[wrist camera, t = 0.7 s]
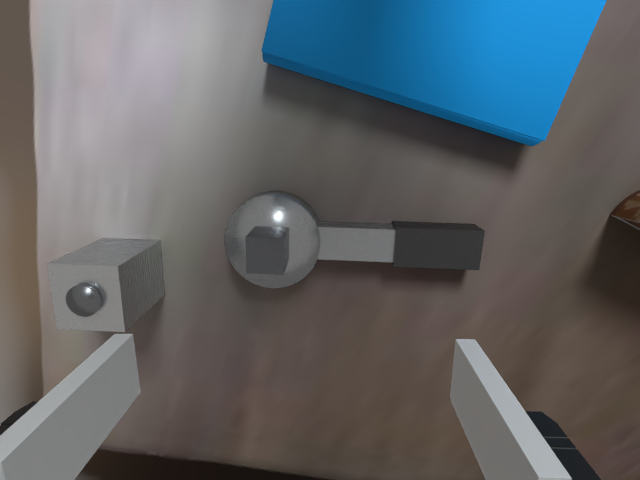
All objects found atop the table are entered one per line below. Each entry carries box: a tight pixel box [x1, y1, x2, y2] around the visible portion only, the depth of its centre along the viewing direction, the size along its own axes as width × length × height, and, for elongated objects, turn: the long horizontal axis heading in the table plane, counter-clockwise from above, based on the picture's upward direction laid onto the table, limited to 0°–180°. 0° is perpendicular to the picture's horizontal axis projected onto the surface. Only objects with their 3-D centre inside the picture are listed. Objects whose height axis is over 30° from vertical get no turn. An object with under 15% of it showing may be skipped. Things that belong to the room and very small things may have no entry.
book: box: [262, 0, 606, 146], centre depth 33 cm, size 17×4×25 cm
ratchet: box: [225, 191, 485, 288], centre depth 36 cm, size 9×24×7 cm, turn 88°
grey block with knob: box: [47, 238, 165, 332], centre depth 37 cm, size 6×6×9 cm
